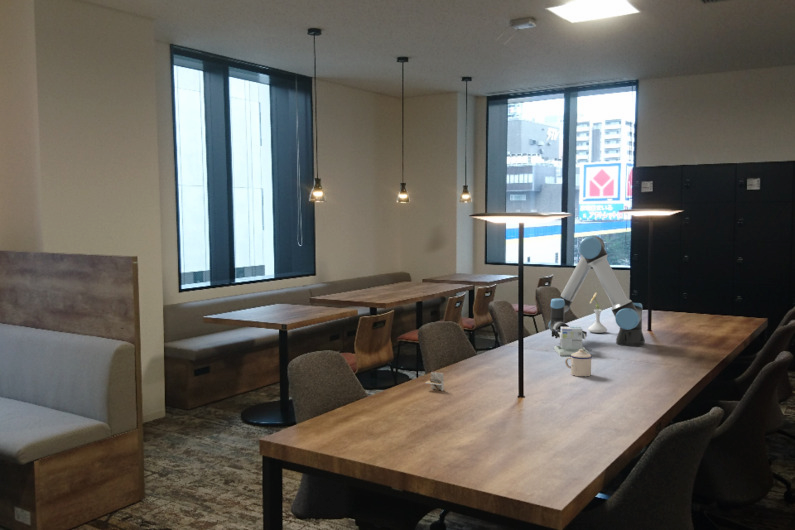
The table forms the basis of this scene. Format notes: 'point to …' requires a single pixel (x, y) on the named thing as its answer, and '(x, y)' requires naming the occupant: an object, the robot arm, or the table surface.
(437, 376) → the architectural model
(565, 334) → the light bulb box
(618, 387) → the table surface
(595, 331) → the flower in vase
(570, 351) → the tray
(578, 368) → the teacup with lid
